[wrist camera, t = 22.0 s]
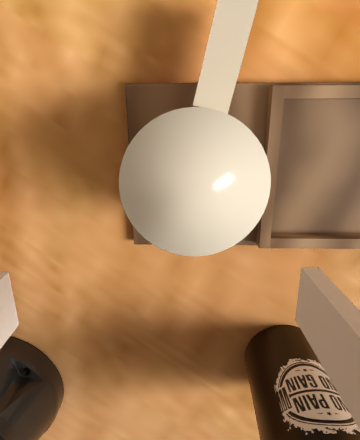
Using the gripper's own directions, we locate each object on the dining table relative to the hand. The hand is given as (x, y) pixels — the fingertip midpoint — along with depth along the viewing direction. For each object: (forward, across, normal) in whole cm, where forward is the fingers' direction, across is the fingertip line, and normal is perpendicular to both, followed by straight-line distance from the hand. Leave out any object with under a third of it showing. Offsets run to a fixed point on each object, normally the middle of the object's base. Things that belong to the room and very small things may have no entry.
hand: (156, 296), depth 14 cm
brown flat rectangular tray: (+18, +10, +3) cm, 20 cm away
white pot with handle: (+17, +3, +7) cm, 19 cm away
